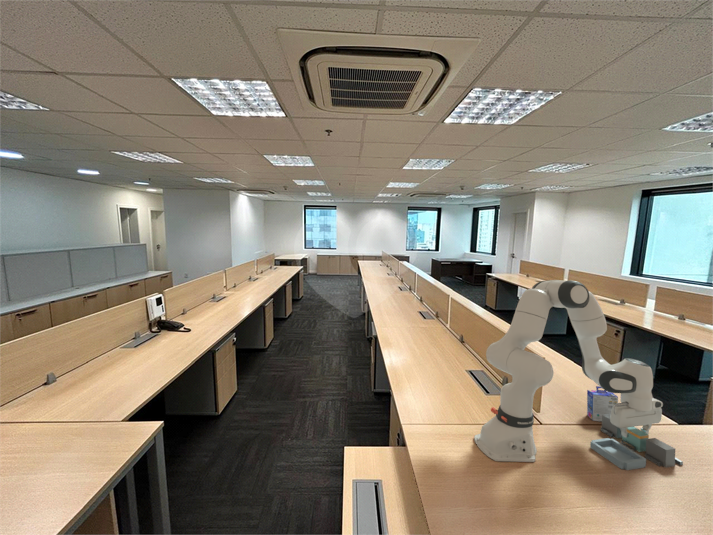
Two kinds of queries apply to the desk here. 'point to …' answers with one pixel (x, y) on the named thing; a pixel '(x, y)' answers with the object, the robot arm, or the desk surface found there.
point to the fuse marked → (637, 438)
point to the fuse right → (661, 452)
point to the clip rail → (635, 449)
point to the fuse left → (610, 426)
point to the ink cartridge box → (600, 403)
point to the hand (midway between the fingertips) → (634, 434)
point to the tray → (618, 454)
